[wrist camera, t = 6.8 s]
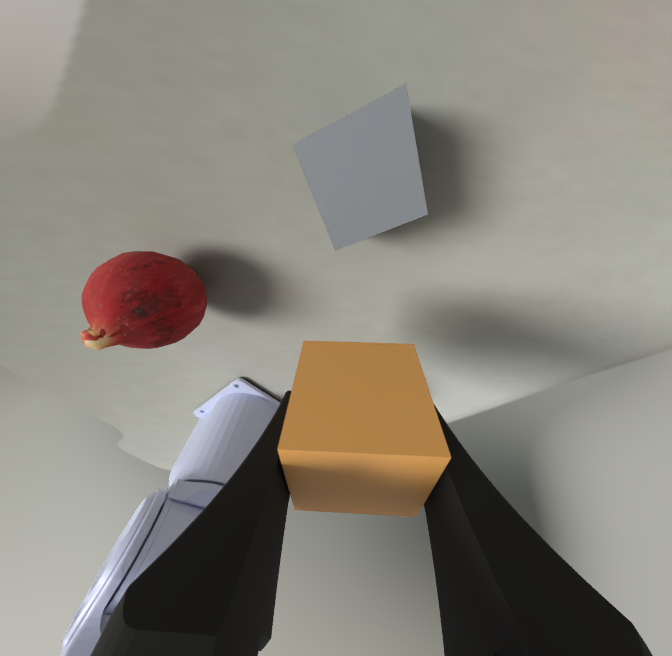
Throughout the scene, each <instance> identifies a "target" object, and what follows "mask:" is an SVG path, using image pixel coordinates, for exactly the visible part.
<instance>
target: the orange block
mask: <svg viewBox="0 0 672 656" xmlns="http://www.w3.org/2000/svg"><path fill="white" fill-rule="evenodd" d="M277 450H278V453H279V457H280V460H281V464H282V467H283V471H284V474H285V478H286V481H287V485H288V488H289V492H290V495H291V498H292V502H293V505H294V509H295V510H303V511H320V512H338V513H356V514H373V515H374V514H375V515H392V516H411V517H416V516H417V515H418V513H419V512H420V510H421V508H422V507H423V505H424V503H425V501H426V500H427V498H428V496H429V495H430V493H431V491H432V490H433V488H434V486H435V484H436V483H437V481H438V479H439V478H440V476H441V474H442V473H443V471H444V469H445V467H446V466H447V464H448V462H449V461H450V459H451V455H450V452H449V449H448V446H447V443H446V440H445V437H444V434H443V431H442V428H441V425H440V422H439V419H438V416H437V413H436V410H435V407H434V404H433V401H432V398H431V395H430V392H429V389H428V386H427V383H426V380H425V377H424V374H423V371H422V368H421V365H420V362H419V359H418V356H417V353H416V350H415V347H414V344H395V343H361V342H327V341H304V342H303V346H302V350H301V354H300V359H299V363H298V367H297V371H296V375H295V379H294V383H293V387H292V391H291V395H290V400H289V404H288V408H287V412H286V416H285V420H284V424H283V428H282V432H281V436H280V441H279V445H278V449H277Z"/></svg>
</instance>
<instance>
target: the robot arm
mask: <svg viewBox="0 0 672 656" xmlns="http://www.w3.org/2000/svg"><path fill="white" fill-rule="evenodd" d="M290 395H291V391H287V392H286V393H285V395H284V397H283V399H282V401H281V403H280V402H279V401H277V400H275V399H274V398H272V397H271V396H269V395H268V394H266V393H264V392H263V391H261V390H260V389H258V388H257V387H255V386H253V385H252V384H250V383H249V382H247V381H246V380H244V379H242V378H237V379H236V380H234V381H233V382H232V383H230V384H229V385H228V386H226V387H225V388H224V389H222V390H221V391H220V392H218V393H217V394H216V395H215V396H213V397H212V398H211V399H209V400H208V401H207V402H205V403H204V404H203V405H201V406H200V407H199V408H197V409H196V410H195V411H194V413H193V414H194V415H195V416H196V417H198V418H200V420H199V421H198V423H197V425H196V427H195V428H194V430H193V432H192V434H191V436H190V437H189V439H188V441H187V443H186V444H185V446H184V448H183V450H182V452H181V453H180V455H179V457H178V459H177V460H176V462H175V464H174V466H173V468H172V470H171V473H170V478H169V488H168V489H167V490H164V489H158V490H156V492H154V493H151V494H150V495H148V496H146V497H145V499H144V500H143V501H142V503H141V504H140V506H139V507H138V509H137V510H136V512H135V513H134V515H133V516H132V518H131V519H130V521H129V523H128V524H127V526H126V527H125V529H124V530H123V532H122V534H121V535H120V537H119V539H118V540H117V542H116V544H115V545H114V547H113V549H112V550H111V552H110V554H109V555H108V557H107V559H106V561H105V562H104V564H103V566H102V567H101V569H100V571H99V573H98V574H97V576H96V578H95V580H94V582H93V584H92V585H91V587H90V589H89V591H88V593H87V595H86V597H85V599H84V601H83V602H82V604H81V606H80V607H79V609H78V611H77V613H76V615H75V616H74V618H73V620H72V622H71V624H70V626H69V628H68V630H67V632H66V634H65V636H64V639H63V642H62V644H63V649H62V651H61V653H60V656H257V655H258V651H261V650H262V649H263V648H264V647H265V646H266V644H267V643H268V641H269V640H270V639H271V634H272V625H273V615H274V607H275V598H276V589H277V581H278V574H279V566H280V558H281V551H282V544H283V536H284V529H285V522H286V515H287V508H288V502H289V497H290V492H289V488H288V485H287V481H286V478H285V474H284V471H283V467H282V464H281V460H280V457H279V453H278V450H277V449H278V445H279V441H280V436H281V432H282V428H283V424H284V420H285V416H286V412H287V408H288V404H289V400H290ZM433 404H434V403H433ZM434 407H435V410H436V413H437V416H438V419H439V422H440V425H441V428H442V431H443V434H444V437H445V440H446V443H447V446H448V449H449V452H450V455H451V459H450V461H449V462H448V464H447V466H446V467H445V469H444V471H443V473H442V474H441V476H440V478H439V479H438V481H437V483H436V484H435V486H434V488H433V490H432V491H431V493H430V495H429V496H428V498H427V500H426V501H425V503H424V507H425V512H426V517H427V524H428V530H429V536H430V543H431V549H432V556H433V563H434V569H435V577H436V585H437V593H438V600H439V608H440V617H441V626H442V634H443V644H444V654H445V656H652V654H651V652H650V650H649V649H648V647H647V645H646V644H645V642H644V641H643V639H642V638H641V636H640V635H639V633H638V632H637V630H636V629H635V627H634V625H633V624H632V623H631V622H630V621H629V620H628V619H627V618H626V617H625V616H623V615H622V614H621V613H620V612H619V611H618V610H617V609H616V608H615V607H614V606H613V605H611V604H610V603H609V602H608V601H607V600H606V599H605V598H604V597H603V596H601V595H600V594H599V593H598V592H597V591H596V590H595V589H594V588H593V587H592V586H591V585H590V584H588V583H587V582H586V581H585V580H584V579H583V578H582V577H581V576H580V575H579V574H578V573H577V572H576V571H575V570H574V569H573V568H572V567H571V566H570V565H569V564H568V563H567V562H565V560H563V559H562V558H561V557H560V556H559V555H558V554H557V553H556V552H555V551H554V550H553V549H552V548H551V547H550V546H549V545H548V544H547V543H546V542H545V541H544V540H543V539H542V538H541V536H539V535H538V533H537V532H536V531H535V530H534V529H533V528H532V527H531V526H530V525H529V524H528V523H527V522H526V521H525V520H524V519H523V518H522V517H521V516H520V515H519V514H518V513H517V511H516V510H515V509H514V508H513V507H512V506H511V505H510V504H509V503H508V502H507V501H506V499H505V498H504V497H503V496H502V495H501V494H500V493H499V491H498V490H497V489H496V488H495V487H494V486H493V484H492V483H491V482H490V481H489V480H488V478H487V477H486V476H485V475H484V473H483V472H482V471H481V470H480V468H479V467H478V466H477V465H476V463H475V462H474V461H473V460H472V458H471V457H470V456H469V454H468V453H467V452H466V450H465V449H464V448H463V446H462V445H461V443H460V442H459V441H458V439H457V438H456V436H455V435H454V434H453V432H452V431H451V429H450V428H449V426H448V425H447V423H446V422H445V420H444V419H443V417H442V416H441V414H440V413H439V411H438V410H437V408H436V406H435V405H434Z"/></svg>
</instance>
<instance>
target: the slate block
mask: <svg viewBox="0 0 672 656" xmlns="http://www.w3.org/2000/svg"><path fill="white" fill-rule="evenodd" d="M293 148H294V150H295V153H296V155H297V158H298V160H299V163H300V165H301V167H302V170H303V172H304V175H305V177H306V180H307V182H308V185H309V187H310V190H311V192H312V195H313V197H314V200H315V202H316V205H317V207H318V209H319V212H320V214H321V217H322V219H323V222H324V224H325V227H326V229H327V232H328V234H329V237H330V239H331V242H332V244H333V247H334V249H335V250H338V249H341V248H343V247H346V246H348V245H351V244H353V243H356V242H359V241H361V240H364V239H366V238H369V237H371V236H374V235H377V234H379V233H382V232H384V231H387V230H389V229H392V228H395V227H397V226H400V225H402V224H405V223H407V222H410V221H413V220H415V219H418V218H420V217H423V216H425V215H428V212H427V206H426V200H425V194H424V188H423V182H422V176H421V170H420V164H419V158H418V152H417V146H416V140H415V134H414V128H413V122H412V116H411V110H410V104H409V98H408V92H407V86H406V84H404V85H403V86H401V87H399V88H397V89H395V90H393V91H391V92H390V93H388V94H386V95H384V96H382V97H380V98H378V99H377V100H375V101H373V102H371V103H369V104H367V105H365V106H364V107H362V108H360V109H358V110H356V111H354V112H352V113H351V114H349V115H347V116H345V117H343V118H341V119H339V120H338V121H336V122H334V123H332V124H330V125H328V126H326V127H325V128H323V129H321V130H319V131H317V132H315V133H313V134H312V135H310V136H308V137H306V138H304V139H302V140H300V141H299V142H297V143H295V144H293Z"/></svg>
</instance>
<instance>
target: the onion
mask: <svg viewBox="0 0 672 656" xmlns="http://www.w3.org/2000/svg"><path fill="white" fill-rule="evenodd" d="M82 306H83V310H84V313H85V316H86V319H87V321H88V323H89V324H90V326H91V327H90V328H89V329H88V330H84V331H83V332H81V333H80V334H81V339H82V342H83V344H84V345H85V347H91V348H95V349H98V350H101V349H103V348H106V347H110V346H114V345H122V346H126V347H130V348H144V349H151V348H158V347H162V346H165V345H169V344H172V343H176V342H178V341H180V340H181V339H183V338H185V337H186V336H187V335H188V334H189V333H191V332H192V331H193V330H194V329H195V328H196V327H197V326H198V325H199V324H200V323H201V321H202V319H203V317H204V314H205V310H206V306H207V296H206V291H205V287H204V283H203V282H202V281H201V279H200V278H199V277H198V275H197V274H196V272H195V271H194V270H193V269H192V268H190V267H189V266H187V265H186V264H185V263H183V262H182V261H180V260H179V259H176V258H173V257H170V256H167V255H163V254H160V253H156V252H147V251H134V252H127V253H122V254H120V255H118V256H116V257H114V258H112V259H110V260H108V261H107V262H105V263H103V264H102V265H100V266H98V267H97V268H96V269H95V270H94V272H93V273H92V274H91V275H90V277H89V279H88V281H87V283H86V285H85V287H84V290H83V293H82Z"/></svg>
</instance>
